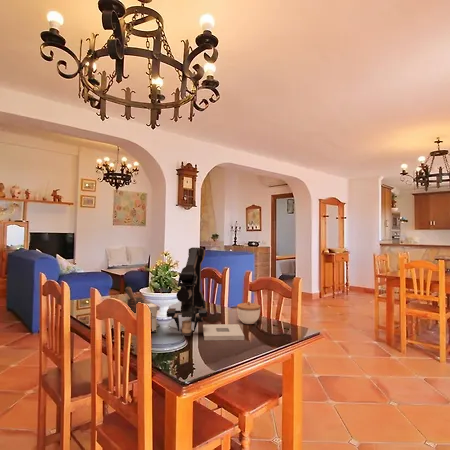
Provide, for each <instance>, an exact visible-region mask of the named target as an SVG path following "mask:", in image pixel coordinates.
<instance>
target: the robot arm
mask: <svg viewBox="0 0 450 450" xmlns="http://www.w3.org/2000/svg"><path fill="white" fill-rule="evenodd" d="M187 254H188V256H187V257H188V258H187V261H186V264H185V267H183V268H182V269H181V271H180V272H179V277H178V282H177V287H180V289H179V290H178V291H177V292H176V299H177V301H178V302H181V303H180V304H181V305H180V310H176V309H177V308H171V307H170V308H168V309H167V310H166V318H171V319H172V320H174V321H175V324H176V328H177V331H178V332H180V319H179V315H180V316H181V318H190V321H192V322H194V325H193V332H195V331H196V329H197V326H198V324H199V322H203V318H207V317H208V309H207V308H206V301H205V298H204V294H203V292H202V290H201V286H202V285H201V279H202V263H203V261H204V260H205V256H206V249H204V247H189V248H188V253H187Z"/></svg>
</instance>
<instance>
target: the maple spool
mask: <svg viewBox="0 0 450 450" xmlns="http://www.w3.org/2000/svg"><path fill="white" fill-rule="evenodd" d="M192 322H193V321H191V320H187V319H186V320H183V321H181V336H183V335H184V336H185V337H189V336H192Z"/></svg>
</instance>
